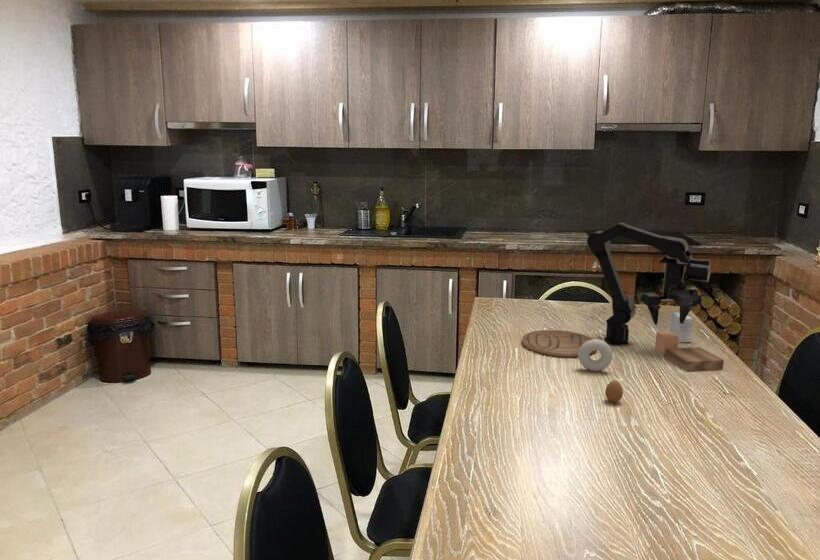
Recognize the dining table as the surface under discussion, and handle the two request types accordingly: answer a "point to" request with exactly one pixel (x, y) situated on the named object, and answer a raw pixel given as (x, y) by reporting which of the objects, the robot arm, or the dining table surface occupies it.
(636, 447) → the dining table surface
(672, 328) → the medicine box
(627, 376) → the dining table surface
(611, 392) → the egg
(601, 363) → the donut
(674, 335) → the terracotta block
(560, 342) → the trivet
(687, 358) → the walnut base
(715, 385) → the dining table surface
